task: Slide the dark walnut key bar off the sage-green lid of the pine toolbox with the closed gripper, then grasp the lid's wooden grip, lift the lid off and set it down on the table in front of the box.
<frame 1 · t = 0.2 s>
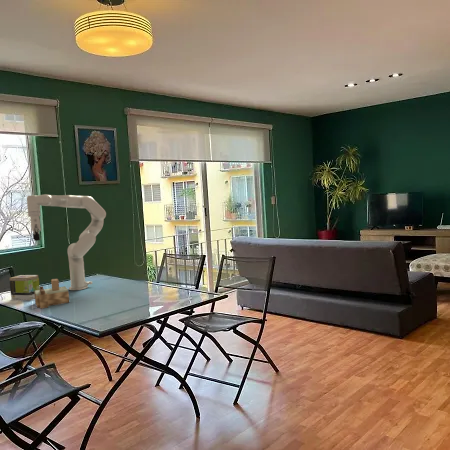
hand: (36, 239, 296), 36 cm above the table, tool pointing down, fingers open, 9 cm apart
lid: (51, 291, 271), point 7 cm above the table, touching toolbox
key: (42, 290, 264), point 10 cm above the table, slide at 0.0 cm
tea box: (26, 299, 288), on the table
toolbox: (52, 303, 272), on the table
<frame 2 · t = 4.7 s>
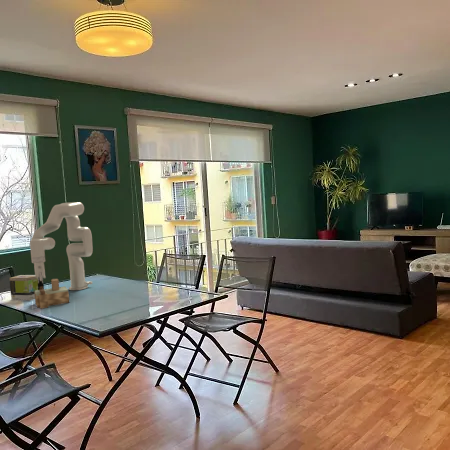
hand: (41, 289, 269), 9 cm above the table, tool pointing down, fingers closed
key: (42, 290, 264), point 10 cm above the table, slide at 0.4 cm, touching gripper
everything else where it was.
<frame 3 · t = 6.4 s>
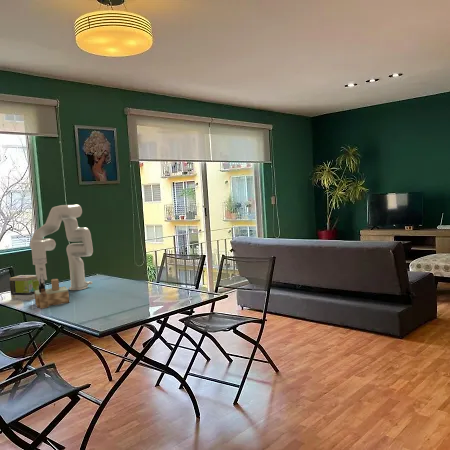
hand: (42, 292, 263), 9 cm above the table, tool pointing down, fingers closed
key: (43, 292, 257), point 10 cm above the table, slide at 8.1 cm, touching gripper
everything else where it was.
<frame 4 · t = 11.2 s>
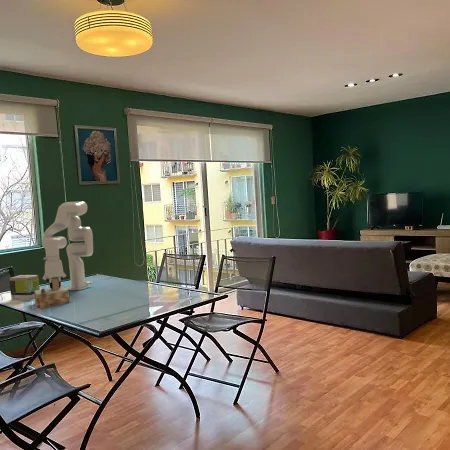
hand: (55, 288, 272), 9 cm above the table, tool pointing down, fingers closed on lid, 3 cm apart
lid: (51, 291, 271), point 7 cm above the table, touching gripper, toolbox
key: (43, 292, 257), point 10 cm above the table, slide at 8.2 cm
everything else where it was.
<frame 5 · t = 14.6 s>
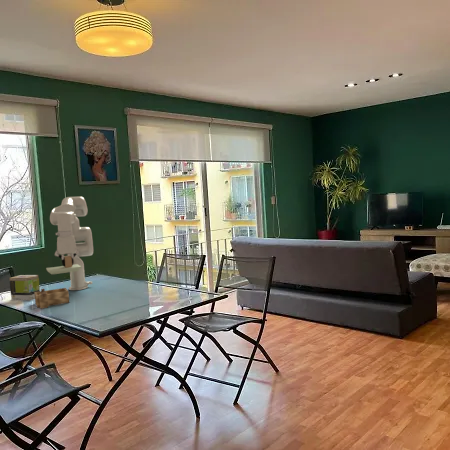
hand: (68, 265, 259), 24 cm above the table, tool pointing down, fingers closed on lid, 3 cm apart
lid: (63, 269, 258), point 22 cm above the table, touching gripper
everything else where it was.
when the fingers open (5 cm above the table, at t = 18.4 s): lid drops 1 cm, point 1 cm above the table.
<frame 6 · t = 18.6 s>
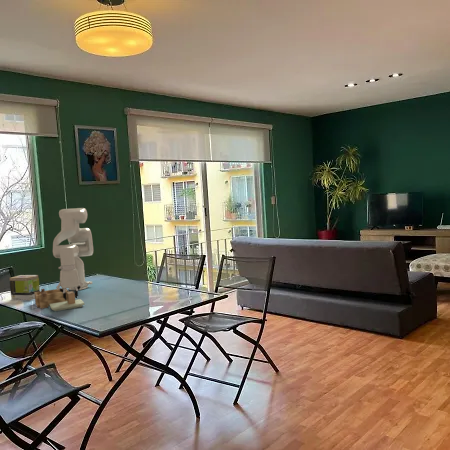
hand: (70, 298, 260), 5 cm above the table, tool pointing down, fingers open, 5 cm apart
lid: (66, 305, 260), point 1 cm above the table
everything else where it was.
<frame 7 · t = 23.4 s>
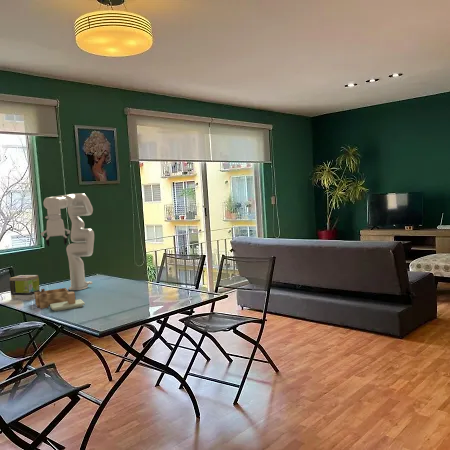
hand: (56, 245, 276), 34 cm above the table, tool pointing down, fingers open, 9 cm apart
nothing on the table moved.
at the end: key slide at 8.2 cm; lid inside the target area (0.2 cm from its centre), point 1.2 cm above the table; lid tilted 0° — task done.
